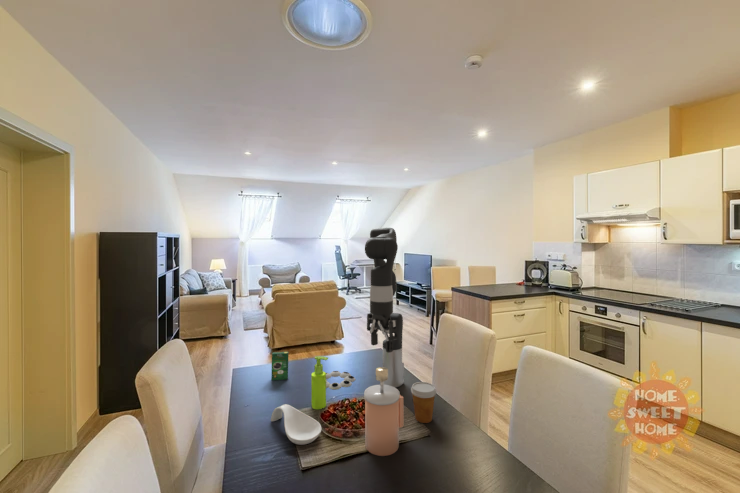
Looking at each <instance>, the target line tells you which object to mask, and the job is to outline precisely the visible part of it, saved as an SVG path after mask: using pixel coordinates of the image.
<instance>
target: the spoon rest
mask: <svg viewBox="0 0 740 493" xmlns="http://www.w3.org/2000/svg"><path fill="white" fill-rule="evenodd" d="M282 418H283V423H284V424H283V425H284V430H285V431H284V432H285V435H286V437H287V438H288V440H289V441H290V442H291V443H293V444H295V445H301V446H302V445H304V446H305V445H307V444H310V443H312V442H314V441H315V440H316V439H317V438H318V437H319V436H320V435H321V433H322V425H321V423H320V422H319V421H318V420H316V419H315V418H313V417H312V416H309V415H308V414H306V413H304V412H302V411H300V410H299V409H297V408H295V407H293V406H292V405H290V404H288V403H287V404H286V403H285V404H282V405H280V406H278V407H276V408H274V410H272V414H271V417H270V421H271V422H275V421H278V420H279V419H282Z"/></svg>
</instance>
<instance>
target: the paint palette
mask: <svg viewBox="0 0 740 493" xmlns="http://www.w3.org/2000/svg"><path fill="white" fill-rule="evenodd" d="M325 373H326V389H327V388H328V389H329V390H340V389H342V388H349V387H351V386H352V385H353V382H355V381H356V378H355V377H354V376H352V374H351V373H350V372H348V371H343V372H340V371H339V370H333V371H331V372H325ZM333 377H334V378H337V377H338V378H342V379H343V380H342V381H340V383H338V382H332V383H330V382H329V381H328V379H331V378H333ZM347 382H348V383H347ZM334 385H337V386H334Z"/></svg>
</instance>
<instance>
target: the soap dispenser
mask: <svg viewBox="0 0 740 493" xmlns="http://www.w3.org/2000/svg"><path fill="white" fill-rule="evenodd" d="M328 359H329V357H326V356H323V355H320V356H319V355H318V356H315V357H314V360H315V361H316V363H315V364H314V371H313V372H311V375H310V376H311V380H310V381H311V383H310V384H311V386H310V387H311V389H310V390H311V393H310V394H311V402H310V403H311V408H312V409H313V410H323V409H324V408H325V407H326V406H327V388H326V373H327V372H325V371H324V370H323V369H324V366H323V363H321V362H322V361H323V360H324V361H328ZM322 408H323V409H322Z"/></svg>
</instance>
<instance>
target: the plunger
mask: <svg viewBox="0 0 740 493" xmlns="http://www.w3.org/2000/svg"><path fill="white" fill-rule="evenodd" d="M375 380H376V381H377V382H379V385H380V392H381V393H383V392H384V381H386V380H388V369H387V368H385V367H383V366H379V367H376V369H375Z"/></svg>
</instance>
